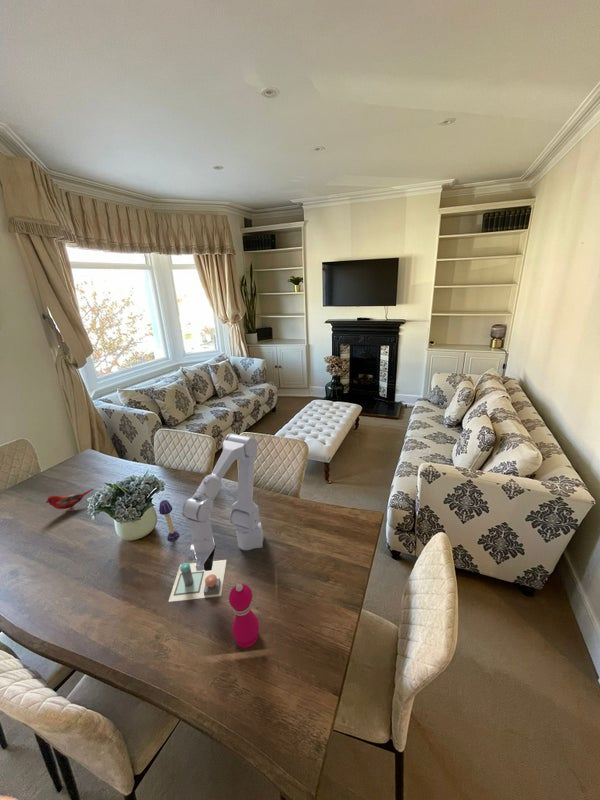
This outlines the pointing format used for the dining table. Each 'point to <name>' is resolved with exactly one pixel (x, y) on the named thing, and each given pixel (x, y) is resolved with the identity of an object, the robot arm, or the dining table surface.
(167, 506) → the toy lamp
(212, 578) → the button
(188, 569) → the salt shaker
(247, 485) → the robot arm
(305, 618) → the dining table surface
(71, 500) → the decorative bird figurine
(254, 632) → the pepper mill
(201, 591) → the board
